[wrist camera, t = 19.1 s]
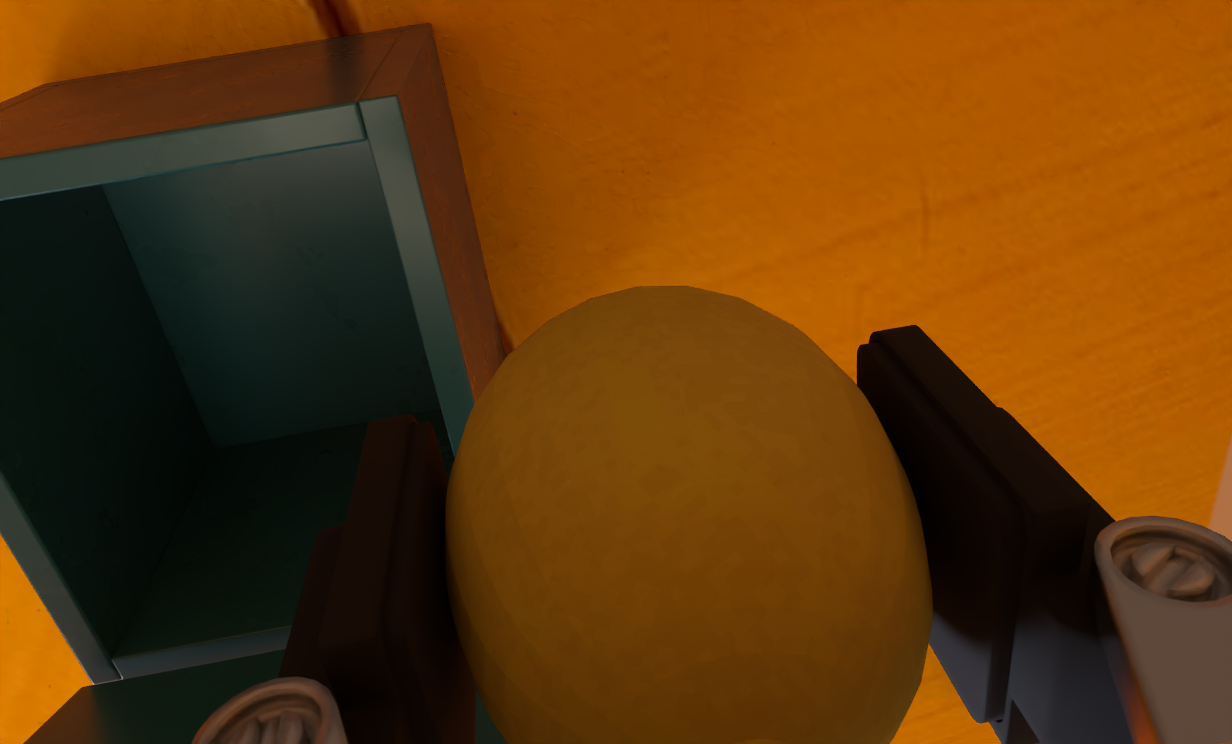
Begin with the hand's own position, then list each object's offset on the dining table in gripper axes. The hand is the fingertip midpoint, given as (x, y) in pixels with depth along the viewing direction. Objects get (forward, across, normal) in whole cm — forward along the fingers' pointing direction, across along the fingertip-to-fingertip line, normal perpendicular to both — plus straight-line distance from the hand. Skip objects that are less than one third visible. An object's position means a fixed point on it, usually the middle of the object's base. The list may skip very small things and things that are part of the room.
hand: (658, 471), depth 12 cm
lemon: (+3, 0, 0) cm, 3 cm away
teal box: (+19, +9, +3) cm, 22 cm away
